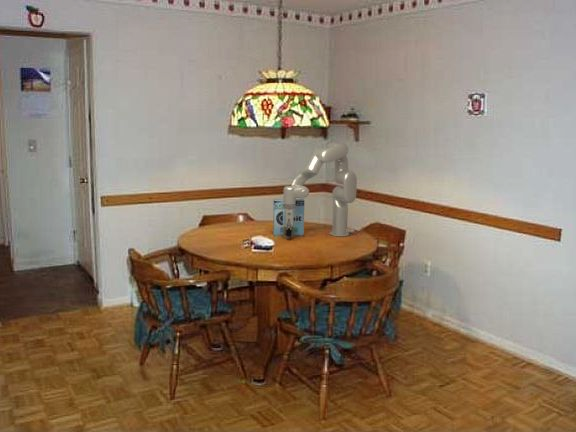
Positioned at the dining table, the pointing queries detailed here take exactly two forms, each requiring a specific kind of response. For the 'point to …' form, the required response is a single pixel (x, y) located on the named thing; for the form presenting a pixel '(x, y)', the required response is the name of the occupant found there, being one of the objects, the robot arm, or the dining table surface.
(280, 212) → the gum box
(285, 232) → the walnut block
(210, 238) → the dining table surface
